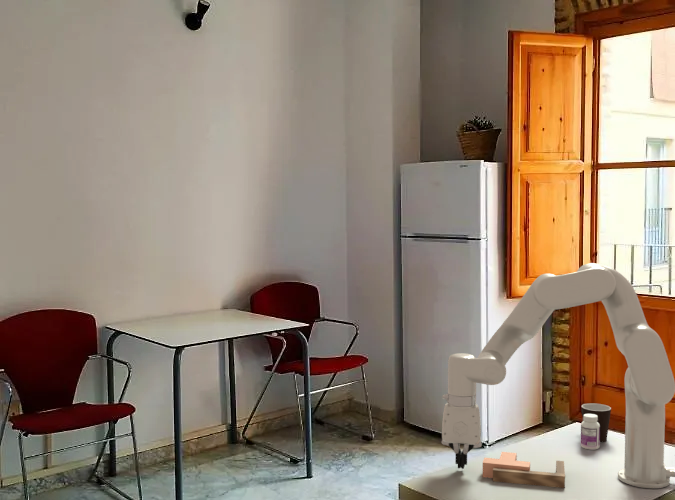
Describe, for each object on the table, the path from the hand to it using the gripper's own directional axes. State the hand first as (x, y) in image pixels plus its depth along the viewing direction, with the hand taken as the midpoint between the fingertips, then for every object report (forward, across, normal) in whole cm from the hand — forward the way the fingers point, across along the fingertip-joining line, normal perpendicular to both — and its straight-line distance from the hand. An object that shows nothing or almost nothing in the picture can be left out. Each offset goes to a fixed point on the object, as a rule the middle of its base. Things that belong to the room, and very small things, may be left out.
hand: (461, 466), depth 208 cm
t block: (+1, +12, +2) cm, 12 cm away
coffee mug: (+1, +37, +40) cm, 55 cm away
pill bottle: (+2, +35, +30) cm, 46 cm away
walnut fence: (+1, +18, +2) cm, 18 cm away
